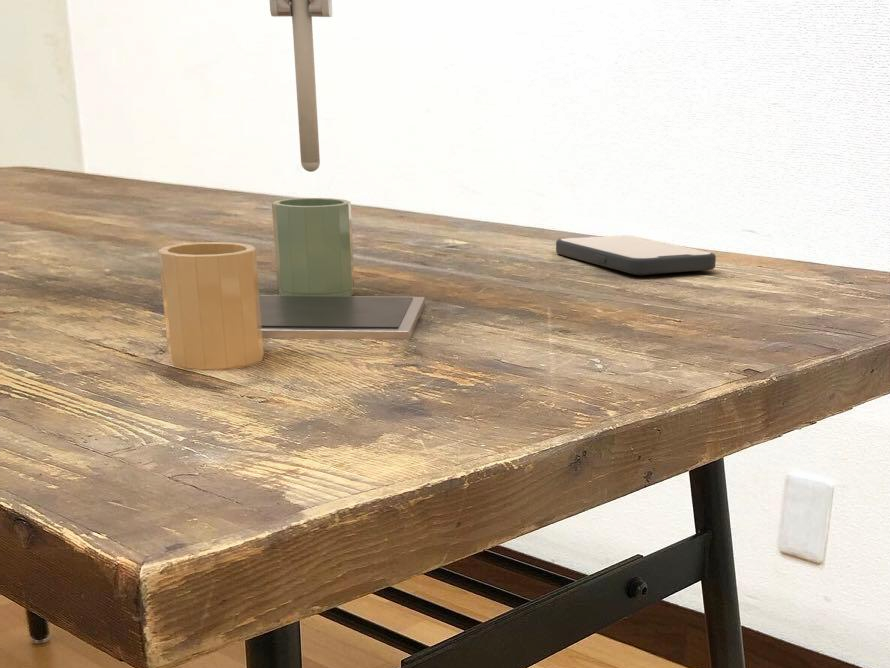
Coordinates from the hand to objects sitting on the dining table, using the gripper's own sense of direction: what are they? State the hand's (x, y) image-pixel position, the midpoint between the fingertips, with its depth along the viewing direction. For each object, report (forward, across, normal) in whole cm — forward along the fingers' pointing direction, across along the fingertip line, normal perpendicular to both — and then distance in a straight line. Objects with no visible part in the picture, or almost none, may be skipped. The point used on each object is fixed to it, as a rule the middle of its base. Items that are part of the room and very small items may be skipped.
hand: (301, 16), depth 89 cm
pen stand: (+20, +2, +24) cm, 31 cm away
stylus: (+11, 0, 0) cm, 11 cm away
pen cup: (+20, 0, 0) cm, 20 cm away
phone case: (+20, -26, -17) cm, 37 cm away
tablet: (+20, -1, +12) cm, 23 cm away
